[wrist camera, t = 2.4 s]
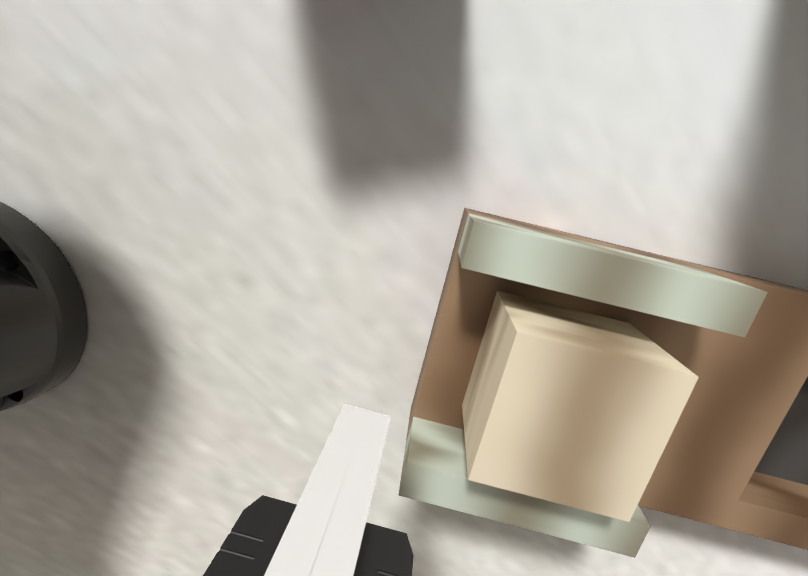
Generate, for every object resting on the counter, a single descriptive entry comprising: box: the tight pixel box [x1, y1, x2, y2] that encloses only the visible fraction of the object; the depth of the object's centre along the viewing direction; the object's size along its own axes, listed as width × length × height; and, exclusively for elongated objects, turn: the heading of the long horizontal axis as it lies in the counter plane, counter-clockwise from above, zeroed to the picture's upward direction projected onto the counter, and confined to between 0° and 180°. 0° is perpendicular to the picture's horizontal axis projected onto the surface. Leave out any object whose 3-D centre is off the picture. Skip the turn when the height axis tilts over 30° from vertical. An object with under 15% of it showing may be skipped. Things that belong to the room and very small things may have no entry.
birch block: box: [462, 291, 699, 522], centre depth 19 cm, size 7×7×6 cm
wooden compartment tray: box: [399, 208, 808, 558], centre depth 22 cm, size 29×14×8 cm, turn 77°
